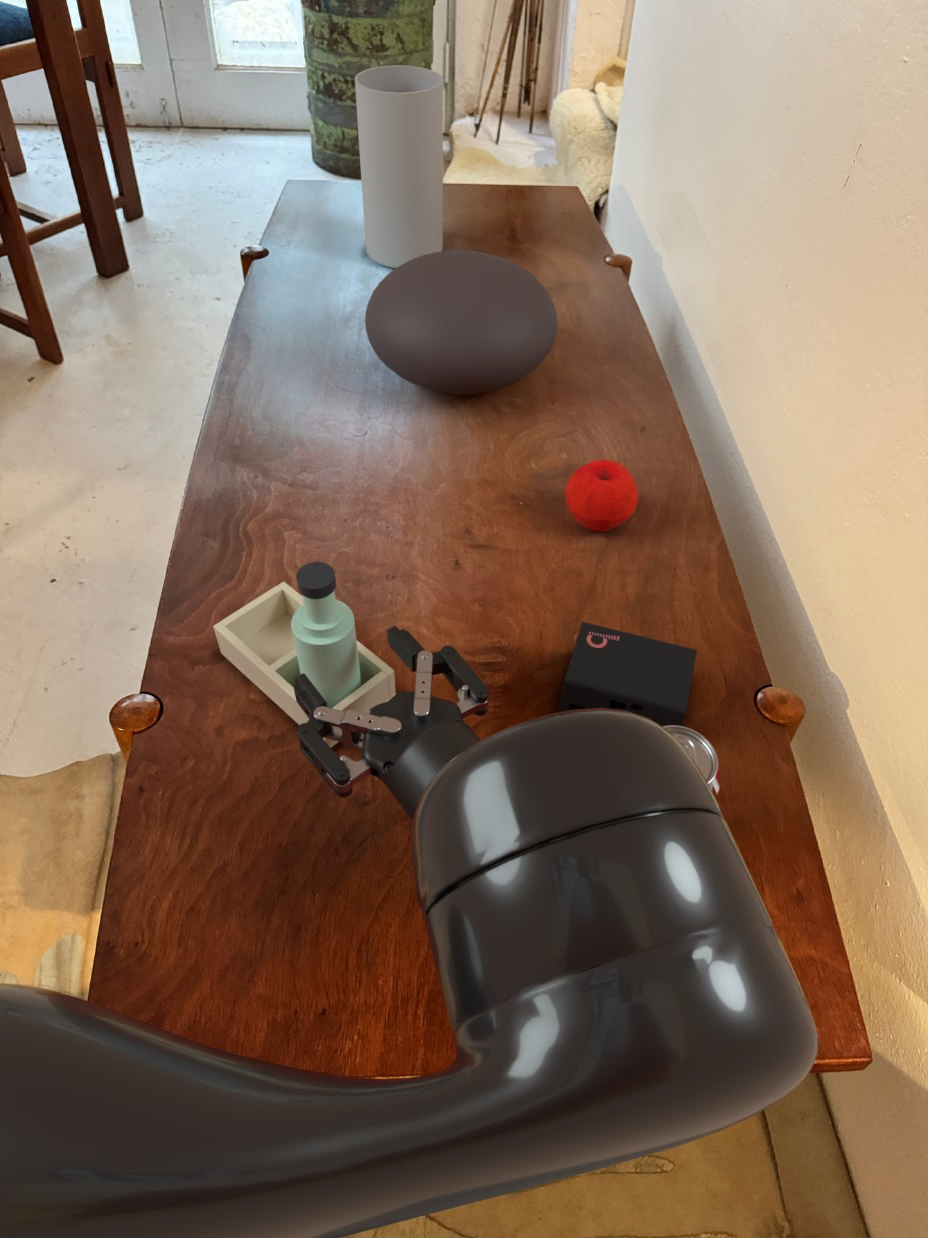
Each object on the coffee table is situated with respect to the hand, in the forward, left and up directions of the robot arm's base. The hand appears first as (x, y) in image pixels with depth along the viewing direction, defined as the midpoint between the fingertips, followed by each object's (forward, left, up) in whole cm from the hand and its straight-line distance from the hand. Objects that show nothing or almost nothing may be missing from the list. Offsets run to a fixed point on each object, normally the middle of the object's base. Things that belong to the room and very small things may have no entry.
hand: (346, 657), depth 68 cm
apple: (+38, +2, -10) cm, 39 cm away
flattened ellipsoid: (+49, +34, -10) cm, 60 cm away
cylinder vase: (+68, +65, -10) cm, 94 cm away
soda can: (+10, -25, -10) cm, 29 cm away
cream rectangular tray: (+1, +8, -10) cm, 13 cm away
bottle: (+1, +4, -9) cm, 10 cm away
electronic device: (+20, -15, -10) cm, 27 cm away
